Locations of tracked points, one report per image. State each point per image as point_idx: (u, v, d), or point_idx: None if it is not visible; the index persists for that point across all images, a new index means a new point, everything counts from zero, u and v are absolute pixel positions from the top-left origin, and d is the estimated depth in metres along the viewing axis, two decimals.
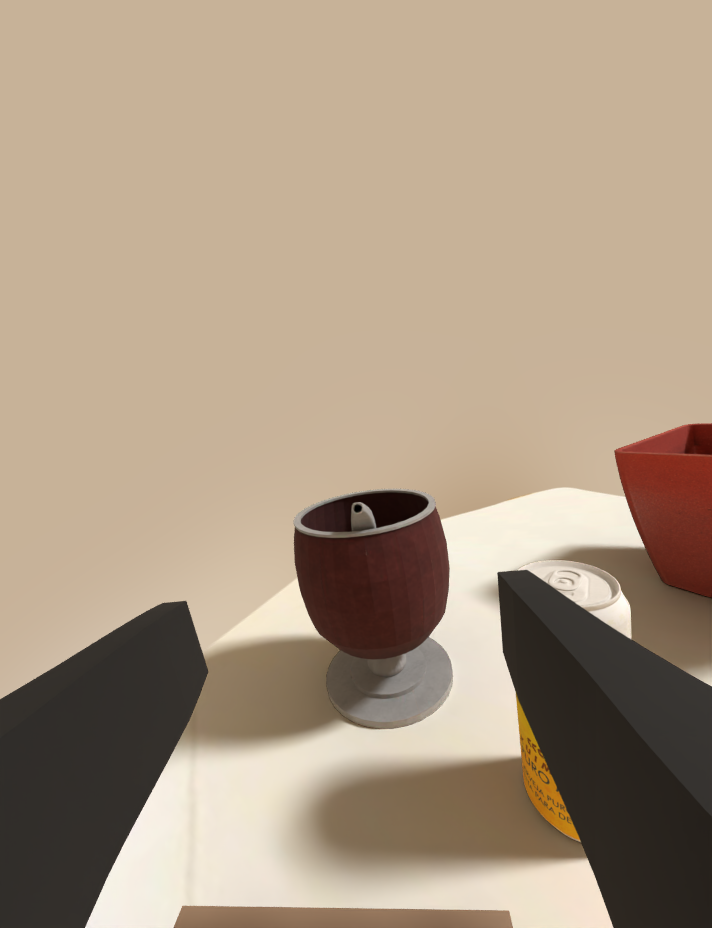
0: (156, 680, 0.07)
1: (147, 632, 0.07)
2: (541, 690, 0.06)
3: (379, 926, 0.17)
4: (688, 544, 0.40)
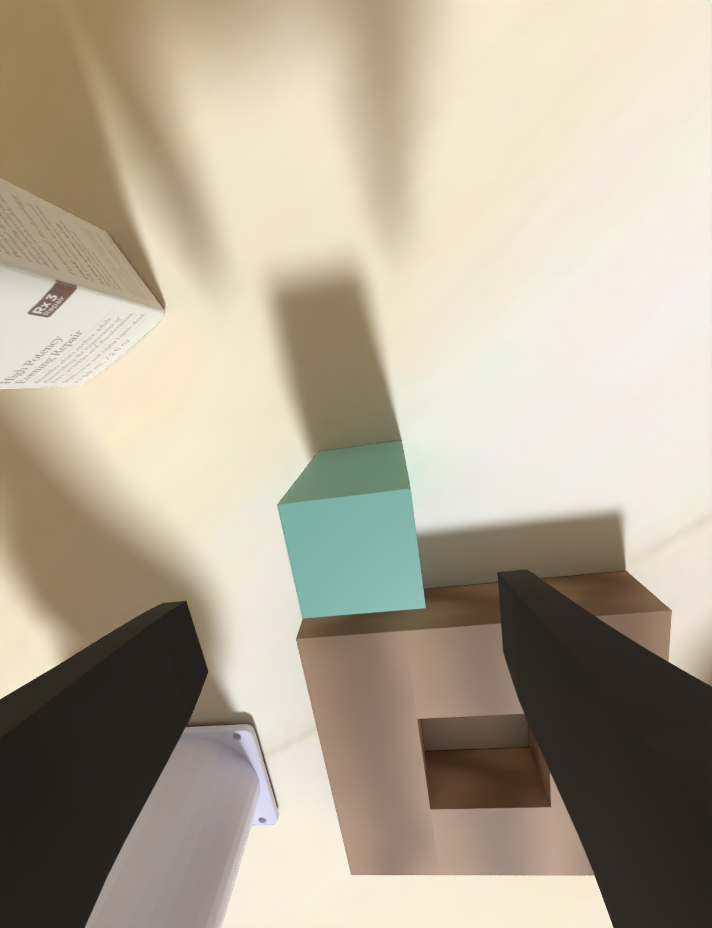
0: (156, 680, 0.07)
1: (147, 632, 0.07)
2: (540, 690, 0.06)
3: None
4: None
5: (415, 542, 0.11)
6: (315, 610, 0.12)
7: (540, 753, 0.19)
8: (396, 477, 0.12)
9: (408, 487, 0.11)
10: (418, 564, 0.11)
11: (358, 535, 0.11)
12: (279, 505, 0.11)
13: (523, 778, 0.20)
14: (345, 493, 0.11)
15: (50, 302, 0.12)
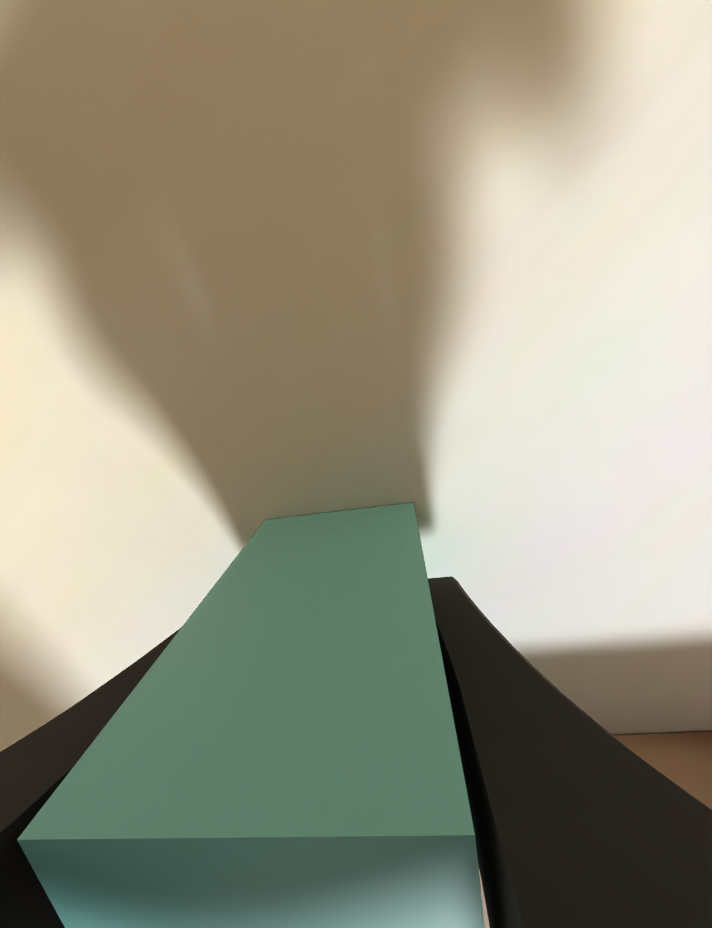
0: None
1: None
2: None
3: None
4: None
5: None
6: None
7: None
8: (414, 698, 0.04)
9: (464, 817, 0.03)
10: None
11: None
12: (24, 842, 0.03)
13: None
14: (246, 798, 0.03)
15: None
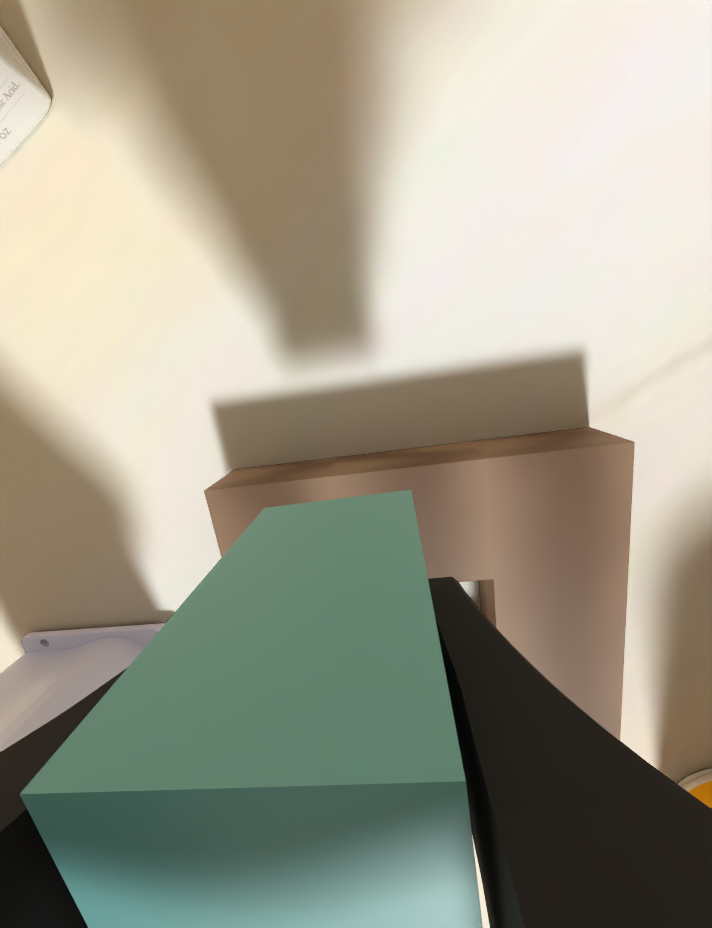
0: None
1: None
2: None
3: (607, 677, 0.16)
4: None
5: (475, 924, 0.03)
6: None
7: None
8: (409, 663, 0.04)
9: (456, 765, 0.03)
10: None
11: (289, 891, 0.03)
12: (26, 797, 0.03)
13: None
14: (243, 754, 0.03)
15: None
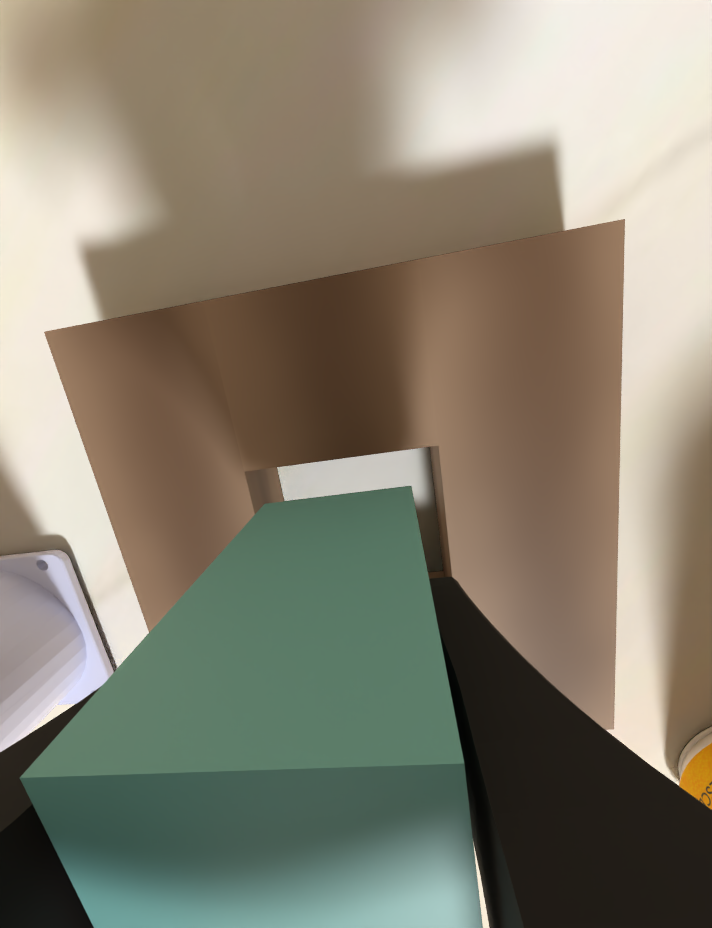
0: None
1: None
2: None
3: (596, 583, 0.12)
4: None
5: (474, 909, 0.03)
6: None
7: (445, 549, 0.13)
8: (408, 651, 0.04)
9: (454, 748, 0.03)
10: None
11: (288, 876, 0.03)
12: (27, 780, 0.03)
13: None
14: (242, 738, 0.03)
15: None
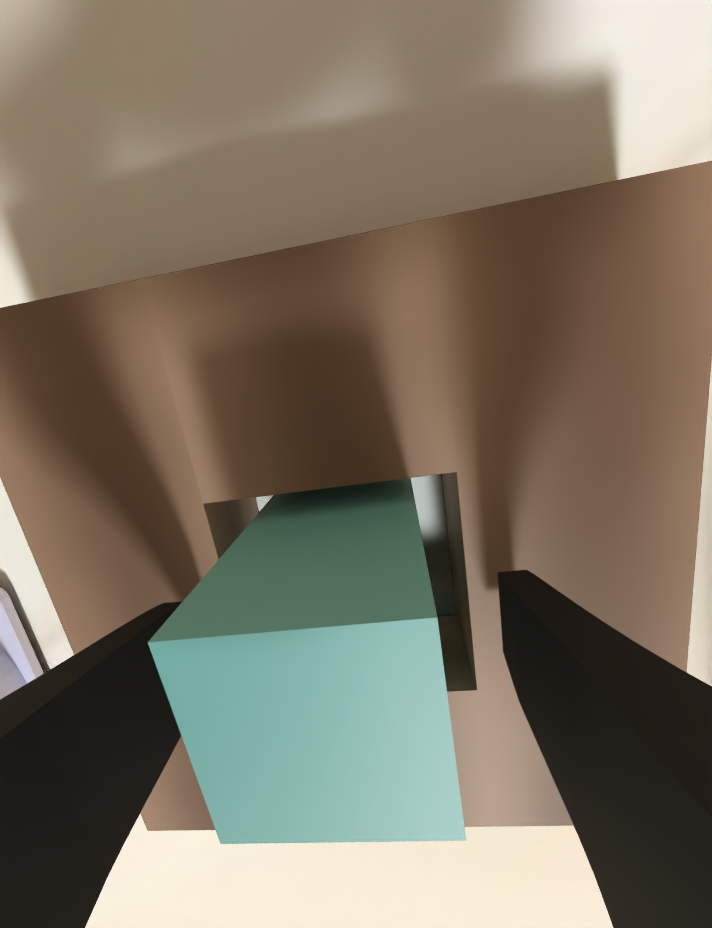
0: (156, 680, 0.07)
1: (147, 632, 0.07)
2: (541, 690, 0.06)
3: (661, 649, 0.09)
4: None
5: (446, 723, 0.05)
6: (244, 831, 0.06)
7: (461, 597, 0.10)
8: (403, 568, 0.06)
9: (431, 611, 0.05)
10: (452, 763, 0.05)
11: (324, 706, 0.05)
12: (152, 643, 0.05)
13: None
14: (293, 616, 0.05)
15: None
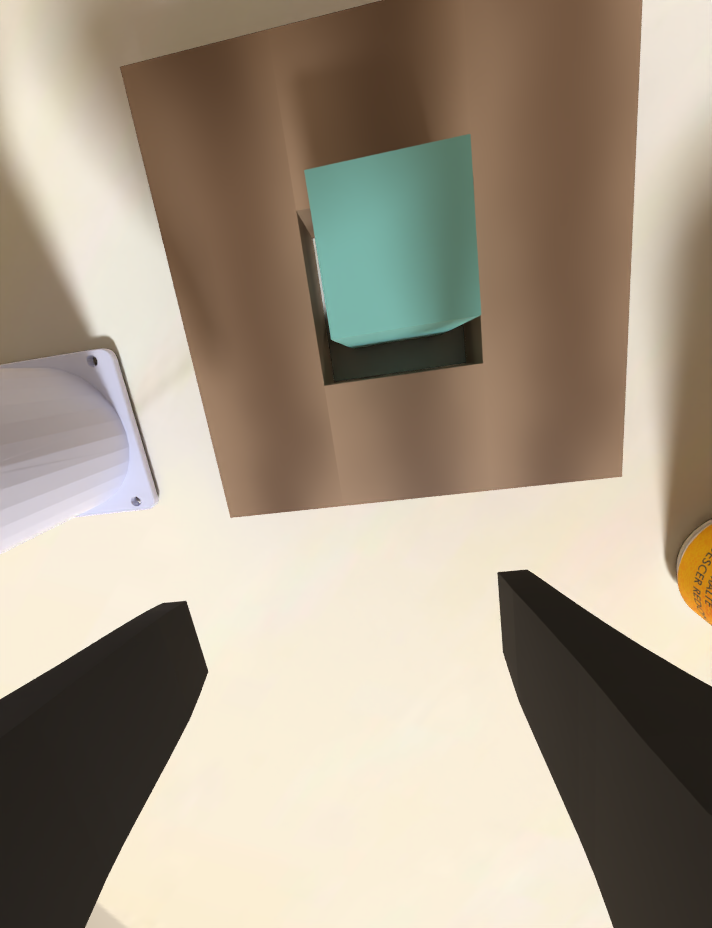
0: (156, 680, 0.07)
1: (147, 632, 0.07)
2: (541, 690, 0.06)
3: (610, 318, 0.13)
4: None
5: (473, 216, 0.09)
6: (346, 327, 0.10)
7: None
8: None
9: (466, 137, 0.09)
10: (475, 250, 0.09)
11: (403, 211, 0.09)
12: (306, 171, 0.09)
13: (452, 366, 0.15)
14: (386, 158, 0.09)
15: None
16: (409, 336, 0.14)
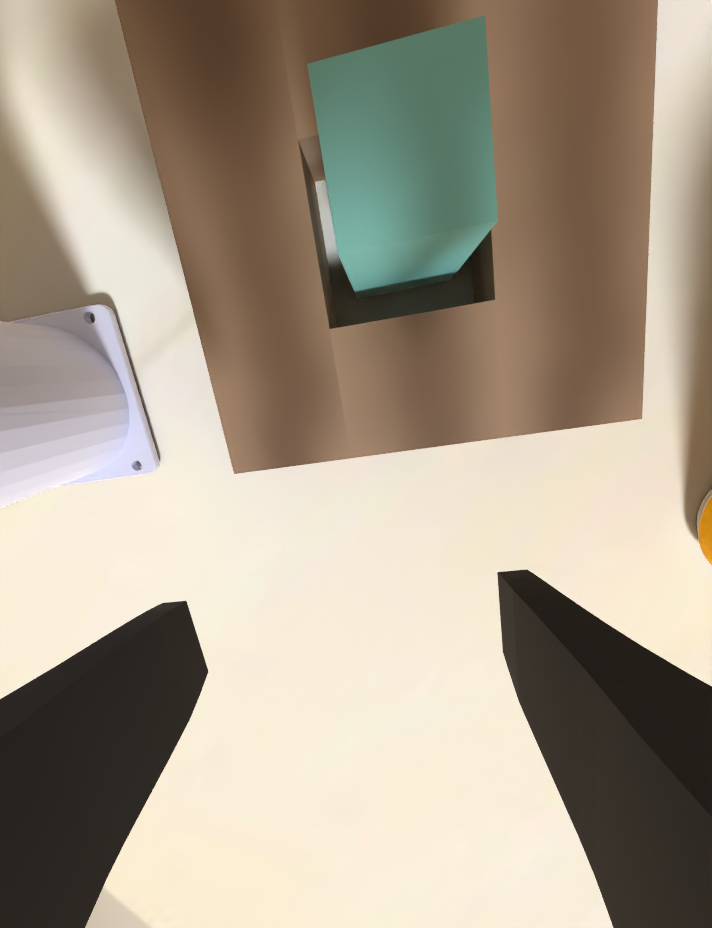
0: (156, 680, 0.07)
1: (147, 632, 0.07)
2: (540, 690, 0.06)
3: (629, 246, 0.12)
4: None
5: (488, 109, 0.09)
6: (354, 240, 0.09)
7: (482, 247, 0.14)
8: None
9: (481, 21, 0.08)
10: (490, 148, 0.09)
11: (413, 106, 0.09)
12: (310, 64, 0.09)
13: None
14: (395, 50, 0.09)
15: None
16: (417, 275, 0.14)
